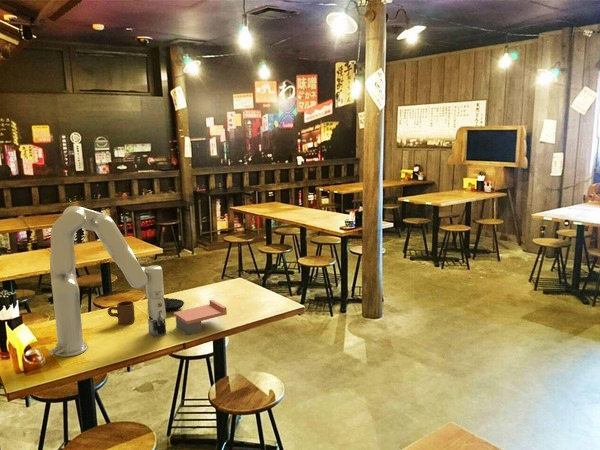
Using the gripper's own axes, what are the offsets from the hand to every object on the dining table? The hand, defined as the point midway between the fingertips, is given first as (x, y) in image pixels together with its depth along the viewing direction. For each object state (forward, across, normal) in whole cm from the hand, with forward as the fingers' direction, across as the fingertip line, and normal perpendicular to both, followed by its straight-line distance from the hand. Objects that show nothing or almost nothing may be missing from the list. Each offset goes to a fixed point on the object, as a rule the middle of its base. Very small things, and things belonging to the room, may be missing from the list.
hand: (157, 330), depth 223 cm
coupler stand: (+2, -4, -19) cm, 20 cm away
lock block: (+2, 0, 0) cm, 2 cm away
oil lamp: (+2, +28, -16) cm, 32 cm away
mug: (+2, +23, +8) cm, 25 cm away
